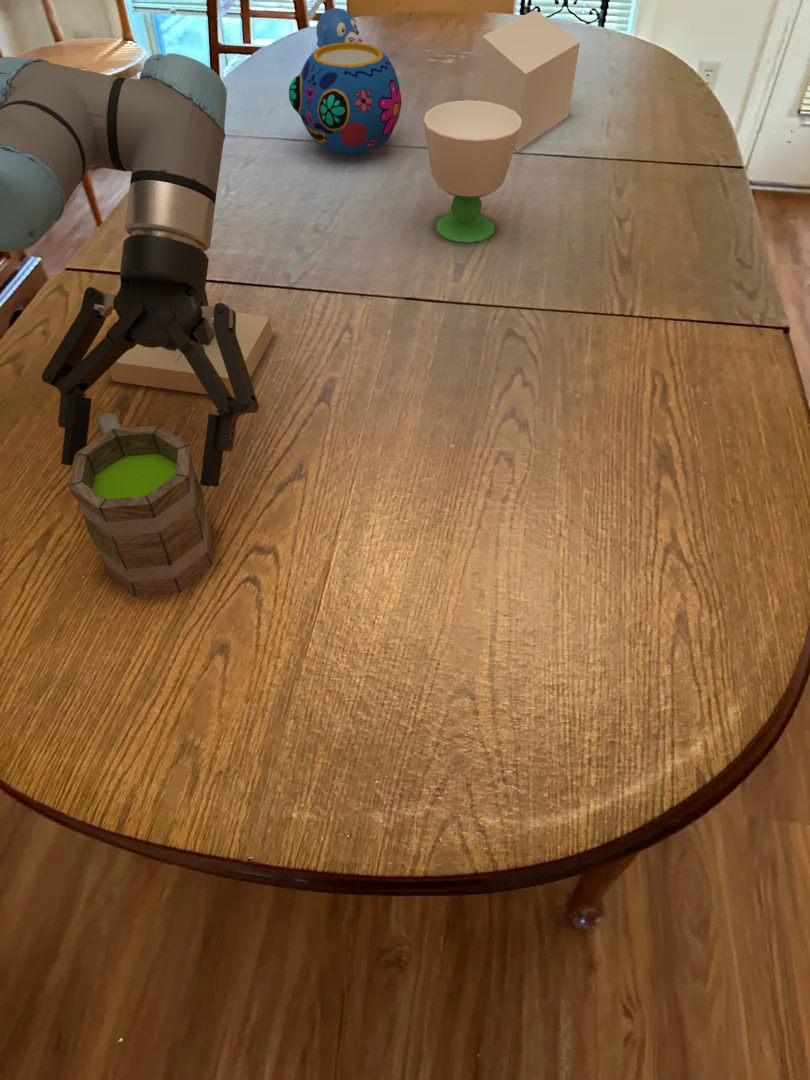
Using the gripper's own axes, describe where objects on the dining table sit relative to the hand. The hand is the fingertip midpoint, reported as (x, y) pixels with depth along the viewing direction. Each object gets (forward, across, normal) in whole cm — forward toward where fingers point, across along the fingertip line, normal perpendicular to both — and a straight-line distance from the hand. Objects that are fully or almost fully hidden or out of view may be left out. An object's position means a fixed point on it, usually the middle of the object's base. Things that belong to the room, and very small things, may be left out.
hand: (140, 476), depth 73 cm
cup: (-42, -21, -54) cm, 72 cm away
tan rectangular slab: (-14, +7, -25) cm, 30 cm away
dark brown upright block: (-17, +7, -23) cm, 29 cm away
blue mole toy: (-91, +16, -102) cm, 138 cm away
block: (-76, -25, -87) cm, 118 cm away
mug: (+6, 0, -5) cm, 8 cm away
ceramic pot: (-60, +3, -71) cm, 92 cm away
